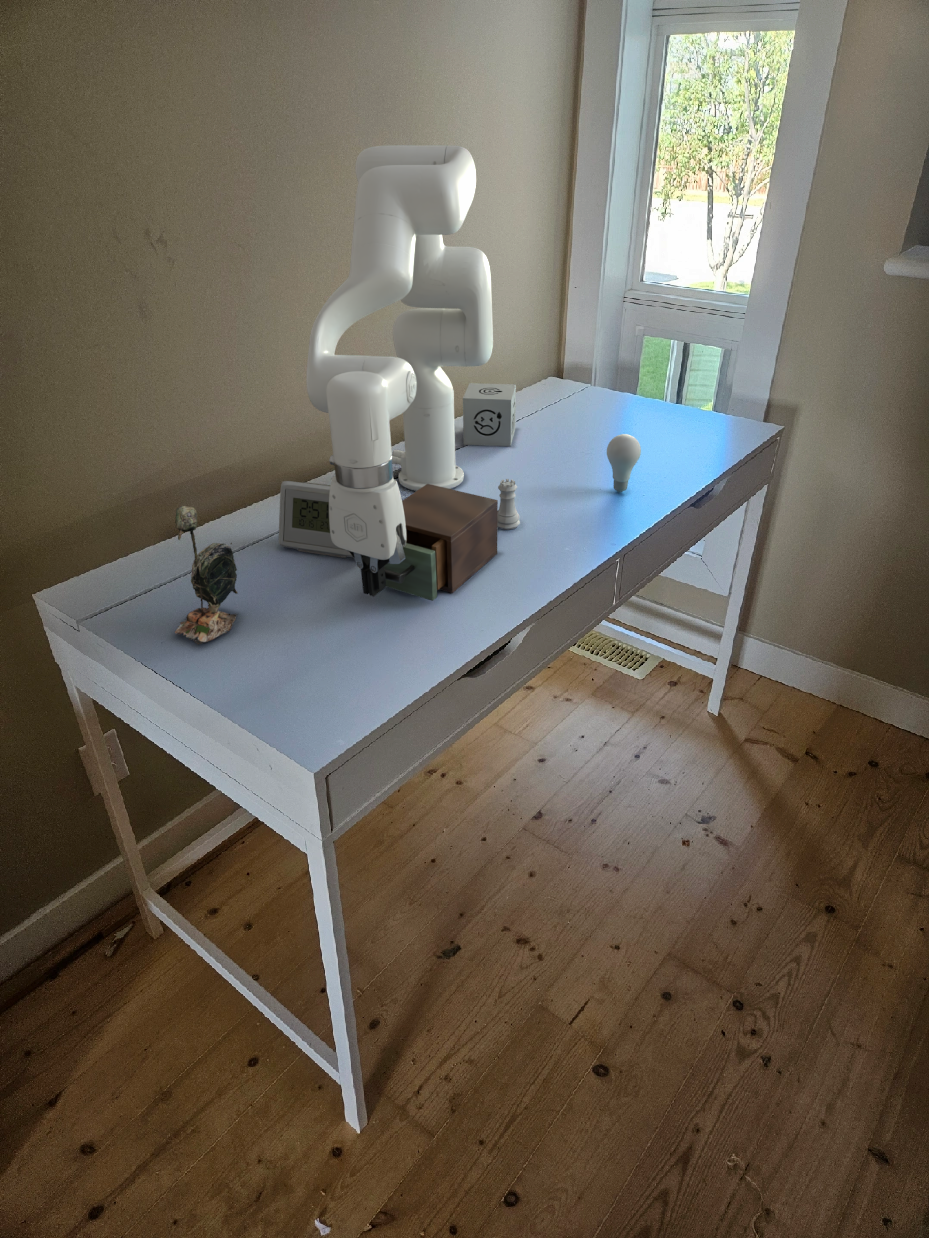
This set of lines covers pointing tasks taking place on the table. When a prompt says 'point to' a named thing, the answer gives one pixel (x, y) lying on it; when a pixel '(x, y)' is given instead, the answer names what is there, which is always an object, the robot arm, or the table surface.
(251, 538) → the table surface
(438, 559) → the drawer
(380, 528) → the robot arm
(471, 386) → the icon cube
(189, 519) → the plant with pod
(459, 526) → the cabinet
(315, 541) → the digital clock
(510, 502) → the rook chess piece
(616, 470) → the lightbulb
